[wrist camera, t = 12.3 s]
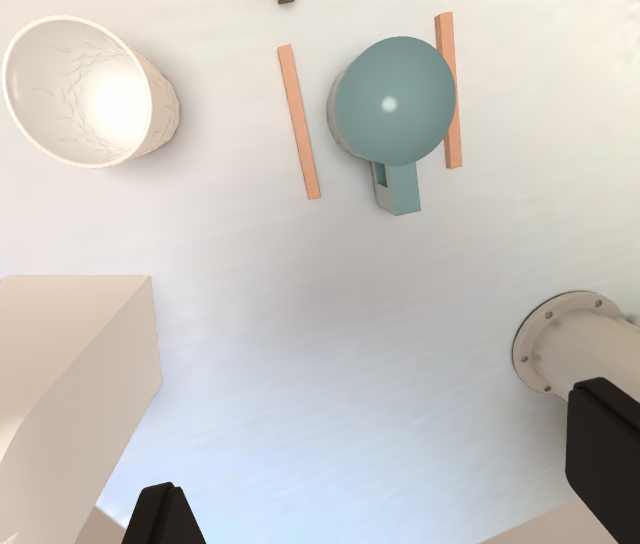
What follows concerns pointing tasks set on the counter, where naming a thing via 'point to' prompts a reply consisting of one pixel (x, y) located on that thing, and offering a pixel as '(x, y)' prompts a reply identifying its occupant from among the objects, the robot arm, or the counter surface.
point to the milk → (69, 395)
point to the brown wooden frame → (284, 1)
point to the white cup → (85, 93)
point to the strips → (291, 84)
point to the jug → (393, 114)
